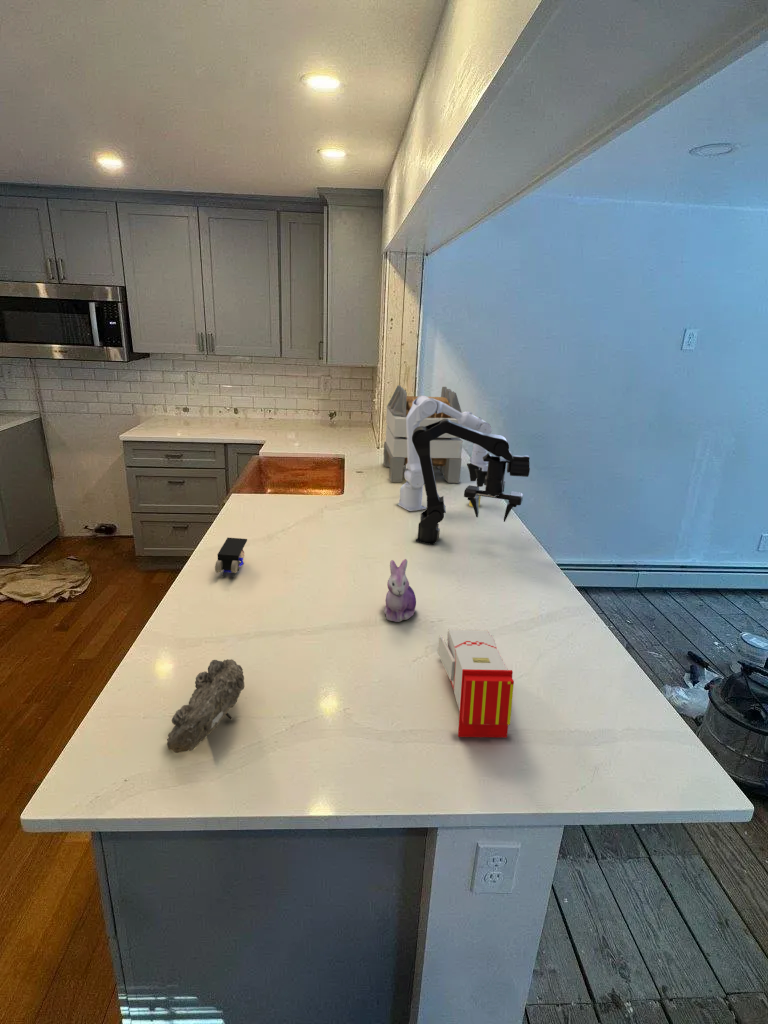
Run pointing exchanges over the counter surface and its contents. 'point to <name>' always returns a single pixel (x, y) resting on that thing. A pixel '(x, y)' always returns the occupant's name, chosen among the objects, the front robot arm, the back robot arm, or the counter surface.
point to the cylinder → (471, 503)
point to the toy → (478, 682)
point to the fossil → (206, 705)
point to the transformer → (441, 449)
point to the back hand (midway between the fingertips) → (476, 483)
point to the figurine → (399, 594)
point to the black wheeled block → (230, 556)
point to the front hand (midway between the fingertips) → (490, 519)
